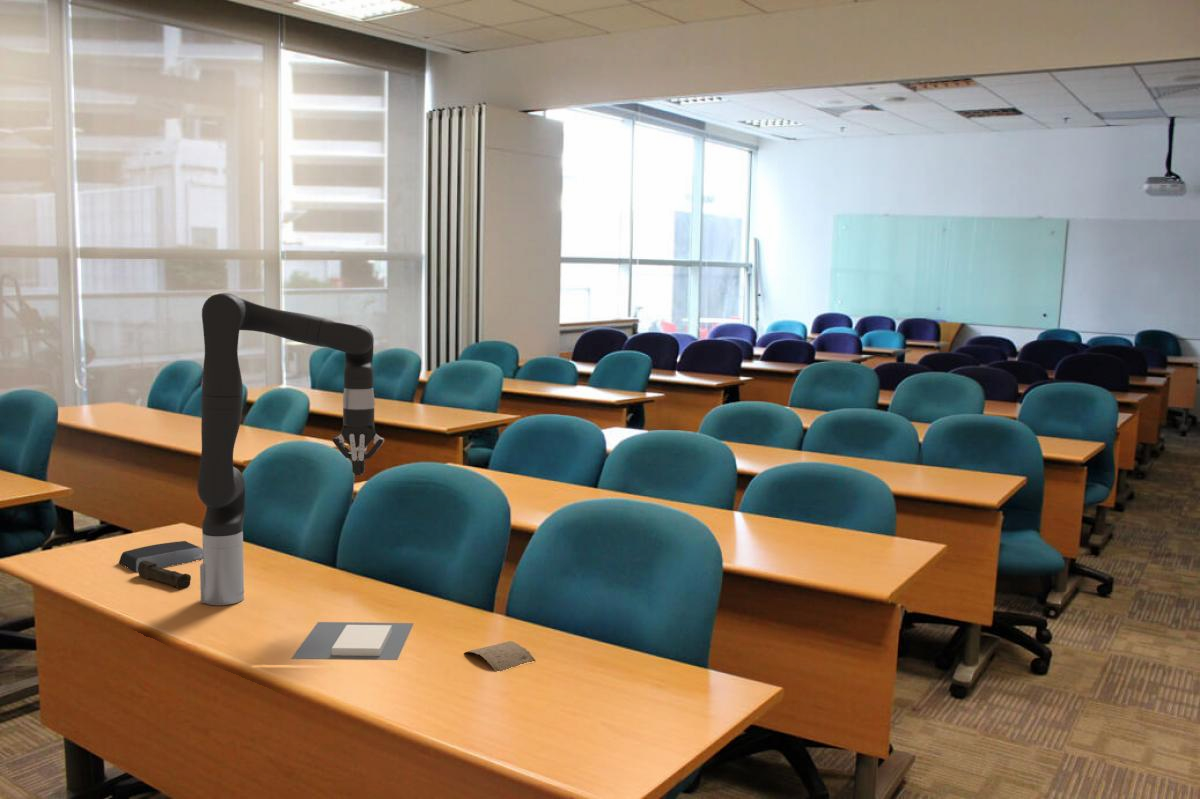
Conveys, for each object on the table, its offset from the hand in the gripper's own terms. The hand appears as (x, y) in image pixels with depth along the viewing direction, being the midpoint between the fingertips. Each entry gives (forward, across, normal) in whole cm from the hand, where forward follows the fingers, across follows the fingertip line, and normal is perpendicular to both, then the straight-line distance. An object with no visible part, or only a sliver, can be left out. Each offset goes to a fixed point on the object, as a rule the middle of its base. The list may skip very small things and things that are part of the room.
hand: (358, 474), depth 238 cm
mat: (+31, +6, -32) cm, 45 cm away
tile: (+30, +8, -27) cm, 41 cm away
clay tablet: (+32, +38, -40) cm, 64 cm away
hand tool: (+32, -53, +8) cm, 62 cm away
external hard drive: (+32, -60, +28) cm, 73 cm away
